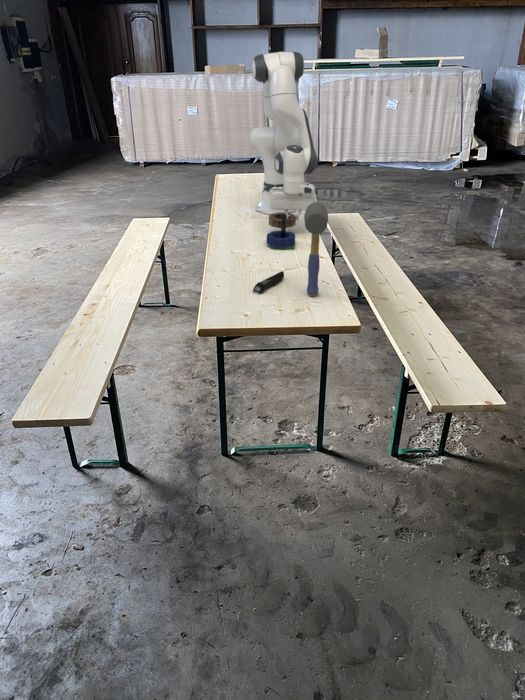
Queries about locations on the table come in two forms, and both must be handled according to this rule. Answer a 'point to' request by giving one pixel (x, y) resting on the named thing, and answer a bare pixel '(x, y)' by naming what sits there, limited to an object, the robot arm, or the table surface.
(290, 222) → the walnut ring
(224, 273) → the table surface
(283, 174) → the robot arm
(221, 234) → the table surface
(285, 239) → the navy ring
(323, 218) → the rubber mallet
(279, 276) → the electric trimmer
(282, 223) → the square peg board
